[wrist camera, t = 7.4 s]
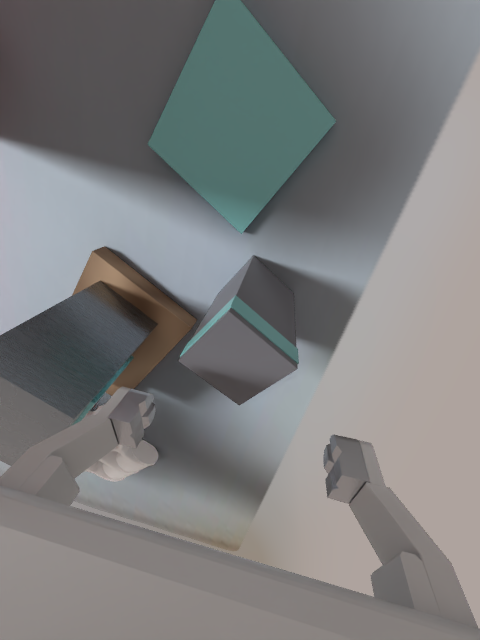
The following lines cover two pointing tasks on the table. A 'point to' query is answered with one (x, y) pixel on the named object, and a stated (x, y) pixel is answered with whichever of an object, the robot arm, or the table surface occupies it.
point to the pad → (238, 116)
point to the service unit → (64, 364)
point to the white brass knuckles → (123, 459)
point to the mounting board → (147, 300)
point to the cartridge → (246, 335)
